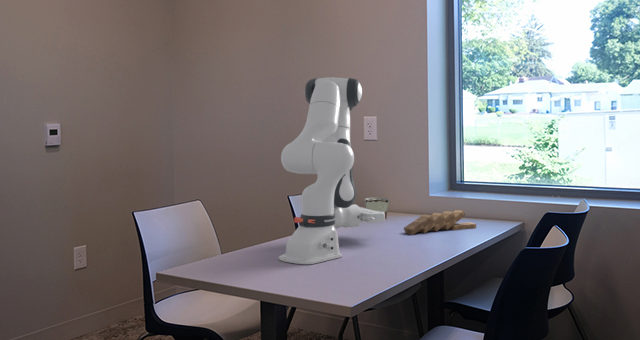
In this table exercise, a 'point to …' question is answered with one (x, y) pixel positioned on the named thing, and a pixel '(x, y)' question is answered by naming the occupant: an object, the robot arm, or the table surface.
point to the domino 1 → (418, 224)
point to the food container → (377, 204)
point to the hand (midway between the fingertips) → (382, 213)
